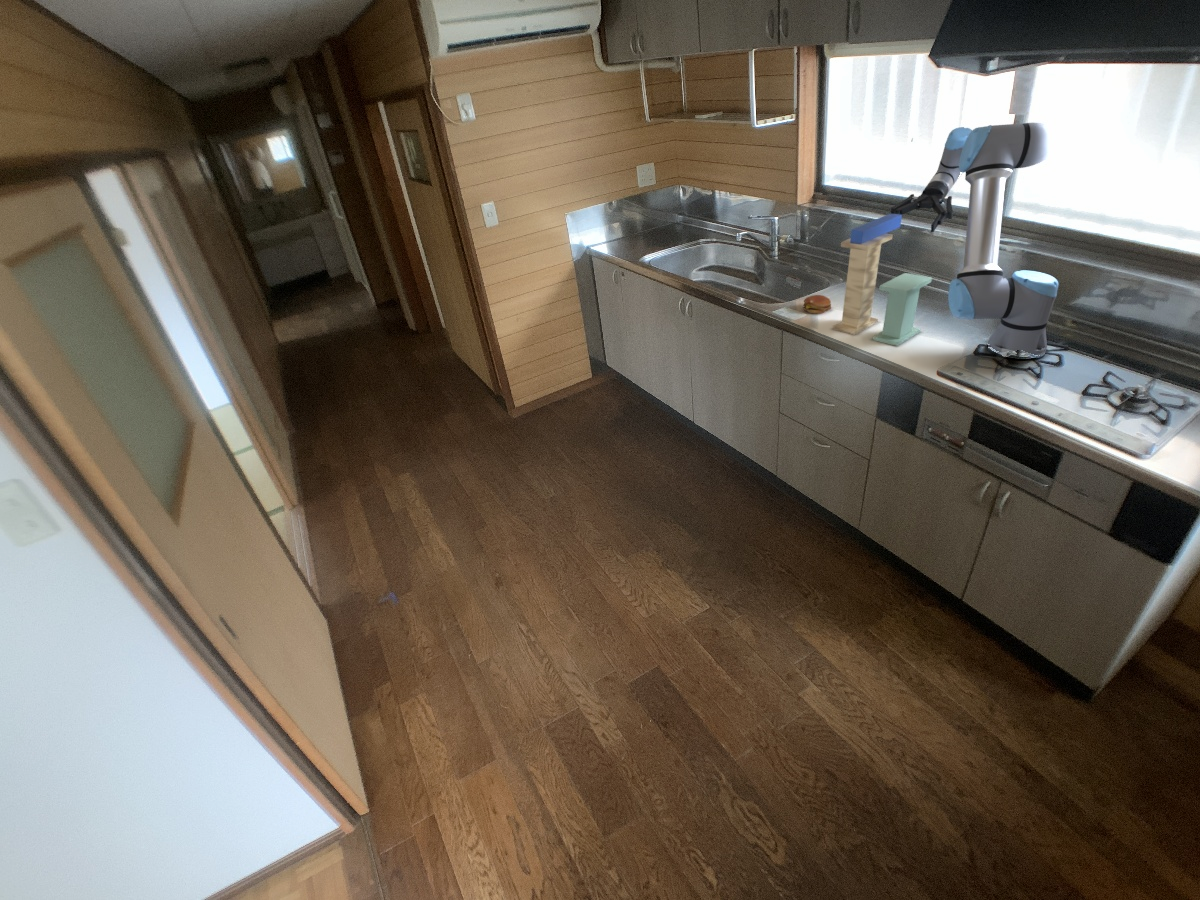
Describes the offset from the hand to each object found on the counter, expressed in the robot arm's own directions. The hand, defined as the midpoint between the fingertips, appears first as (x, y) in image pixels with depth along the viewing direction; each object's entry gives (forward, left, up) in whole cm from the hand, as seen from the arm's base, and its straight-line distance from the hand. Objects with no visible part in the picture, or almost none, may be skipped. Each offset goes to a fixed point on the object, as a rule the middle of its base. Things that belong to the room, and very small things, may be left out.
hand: (911, 227), depth 207 cm
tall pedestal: (+14, +19, -28) cm, 37 cm away
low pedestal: (+1, +27, -28) cm, 39 cm away
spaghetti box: (+11, +15, +2) cm, 19 cm away
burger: (+28, +5, -29) cm, 40 cm away
